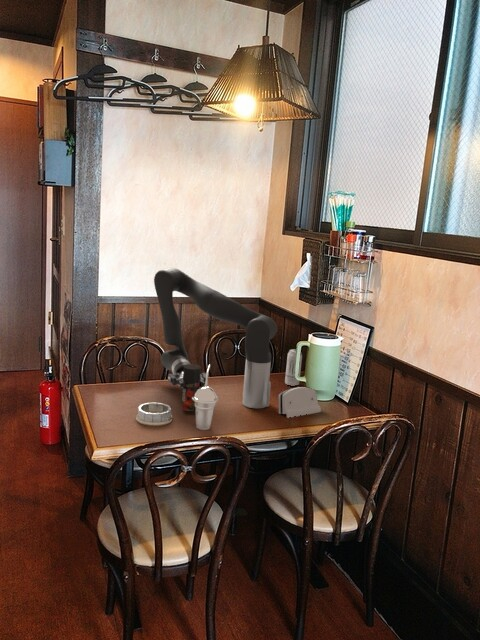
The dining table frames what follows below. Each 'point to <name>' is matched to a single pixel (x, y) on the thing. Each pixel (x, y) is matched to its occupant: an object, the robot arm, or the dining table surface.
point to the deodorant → (190, 385)
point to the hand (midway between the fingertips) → (193, 385)
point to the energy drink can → (292, 368)
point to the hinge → (298, 402)
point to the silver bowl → (154, 414)
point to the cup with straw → (204, 405)
